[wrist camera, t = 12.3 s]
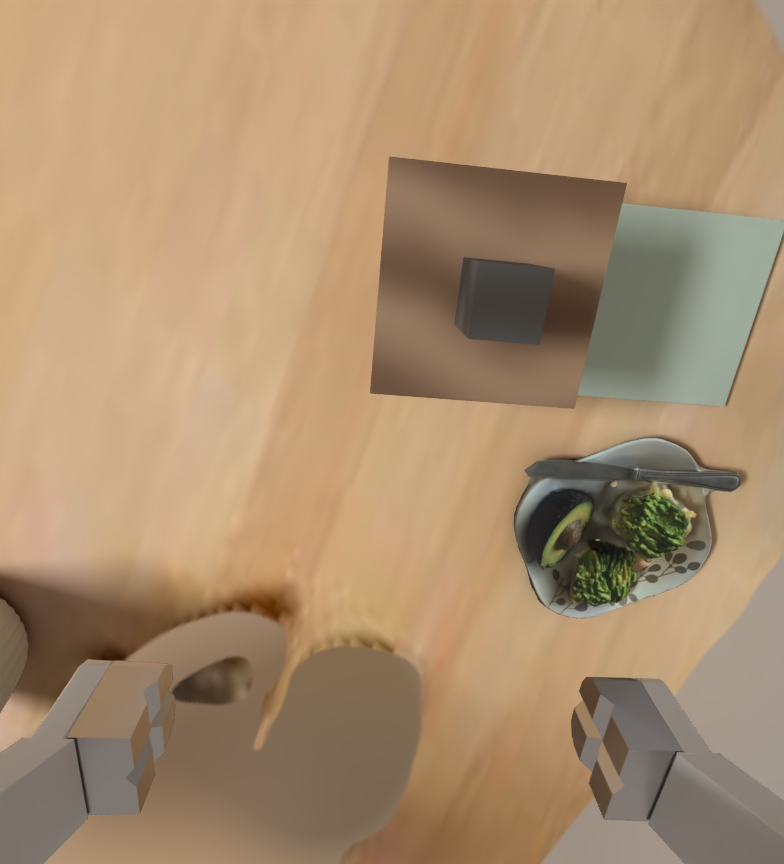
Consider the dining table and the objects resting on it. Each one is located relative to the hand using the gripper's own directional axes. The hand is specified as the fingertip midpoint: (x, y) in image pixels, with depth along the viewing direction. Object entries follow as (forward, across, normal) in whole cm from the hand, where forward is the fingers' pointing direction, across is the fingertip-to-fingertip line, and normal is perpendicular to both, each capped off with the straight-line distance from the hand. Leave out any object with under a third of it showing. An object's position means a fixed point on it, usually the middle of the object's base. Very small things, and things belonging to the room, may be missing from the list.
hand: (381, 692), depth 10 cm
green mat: (+31, -22, -5) cm, 38 cm away
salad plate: (+32, -22, +14) cm, 41 cm away
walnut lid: (+21, -6, -6) cm, 23 cm away
